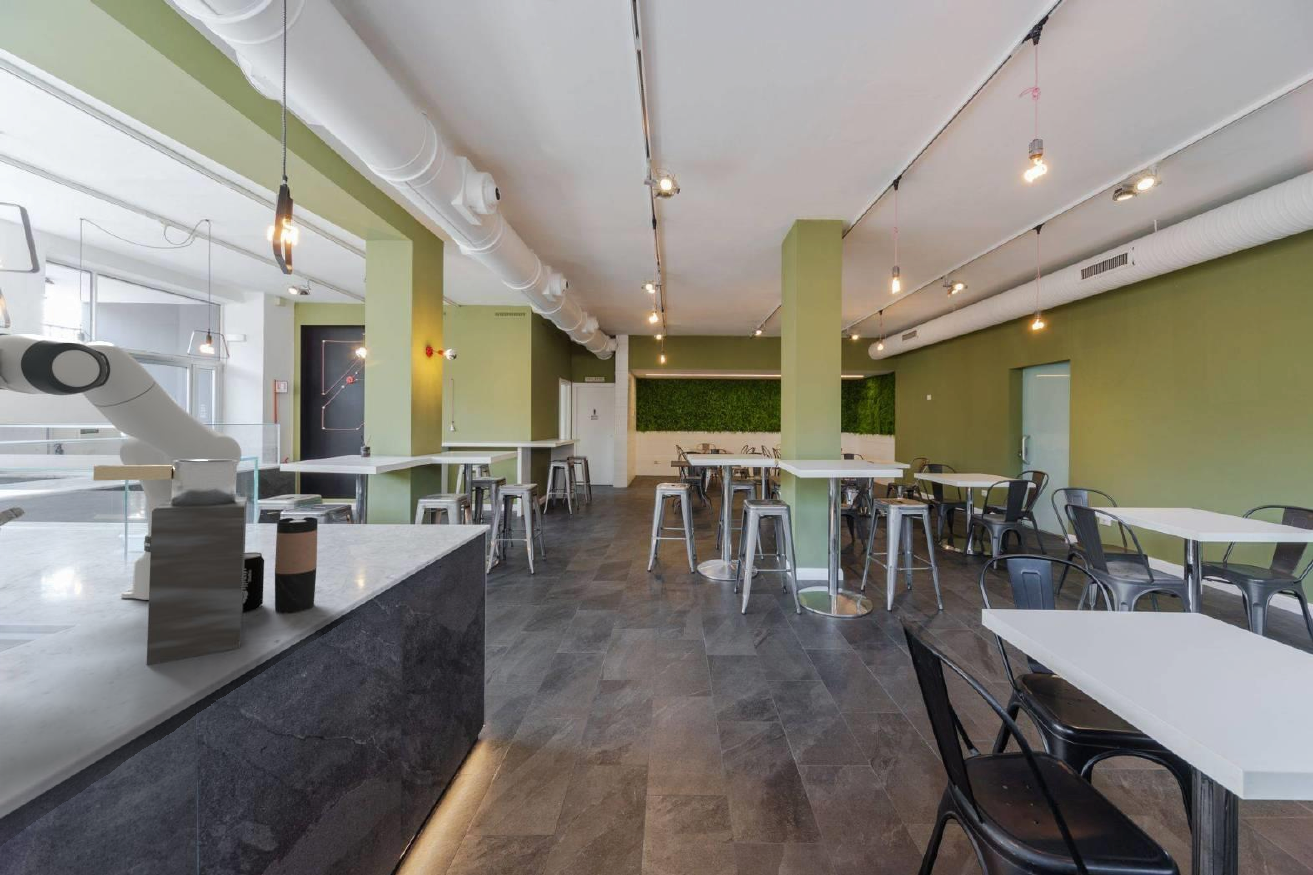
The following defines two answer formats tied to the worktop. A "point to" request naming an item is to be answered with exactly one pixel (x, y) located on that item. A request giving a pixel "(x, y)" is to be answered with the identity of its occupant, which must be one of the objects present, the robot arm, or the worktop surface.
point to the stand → (196, 580)
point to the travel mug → (295, 564)
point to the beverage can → (253, 581)
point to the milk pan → (183, 479)
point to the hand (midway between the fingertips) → (10, 513)
